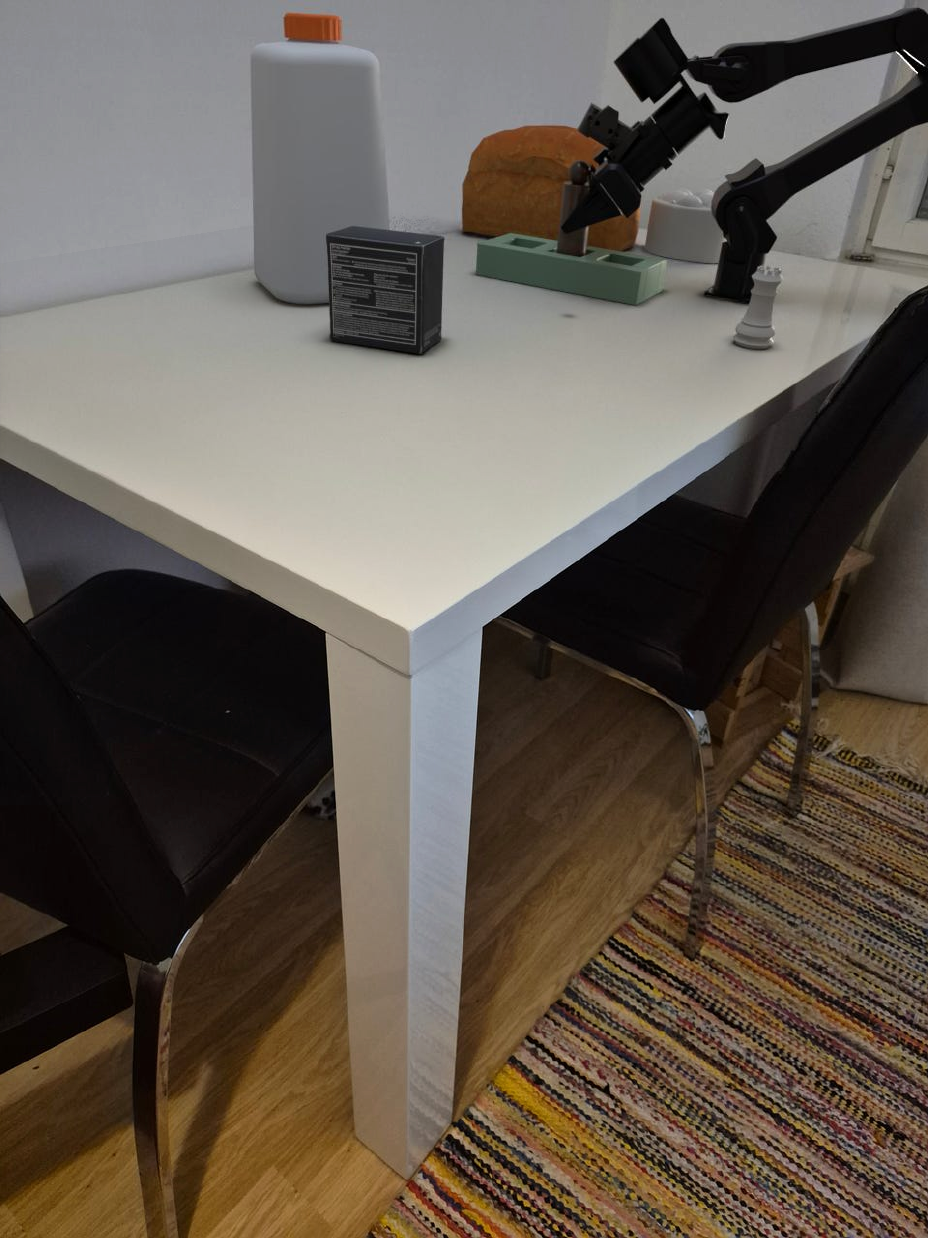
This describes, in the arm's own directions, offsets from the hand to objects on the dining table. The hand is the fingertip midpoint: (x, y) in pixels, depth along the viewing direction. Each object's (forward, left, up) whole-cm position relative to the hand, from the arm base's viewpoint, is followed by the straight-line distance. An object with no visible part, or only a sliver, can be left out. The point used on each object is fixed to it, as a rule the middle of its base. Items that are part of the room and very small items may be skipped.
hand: (563, 227), depth 113 cm
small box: (+35, -3, -7) cm, 36 cm away
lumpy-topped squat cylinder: (-31, +7, -7) cm, 32 cm away
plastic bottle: (+23, -21, -7) cm, 32 cm away
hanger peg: (-1, +1, -7) cm, 7 cm away
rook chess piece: (+10, +29, -7) cm, 32 cm away
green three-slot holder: (-1, +1, -7) cm, 7 cm away
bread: (-25, -14, -7) cm, 29 cm away
